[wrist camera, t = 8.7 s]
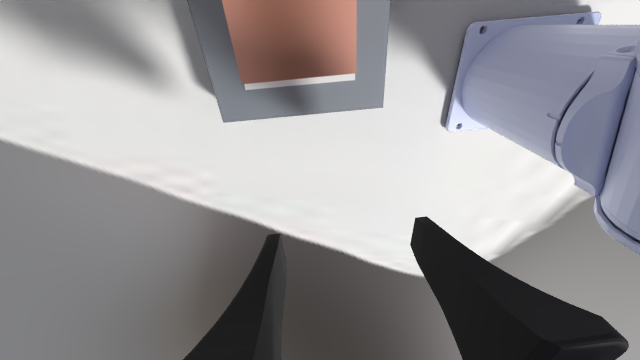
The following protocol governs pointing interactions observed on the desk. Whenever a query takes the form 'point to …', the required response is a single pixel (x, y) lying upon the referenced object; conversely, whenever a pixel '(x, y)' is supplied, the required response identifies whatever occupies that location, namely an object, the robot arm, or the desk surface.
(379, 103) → the grey square frame
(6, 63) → the desk surface
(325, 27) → the salmon brown cube
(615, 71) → the robot arm
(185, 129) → the desk surface
